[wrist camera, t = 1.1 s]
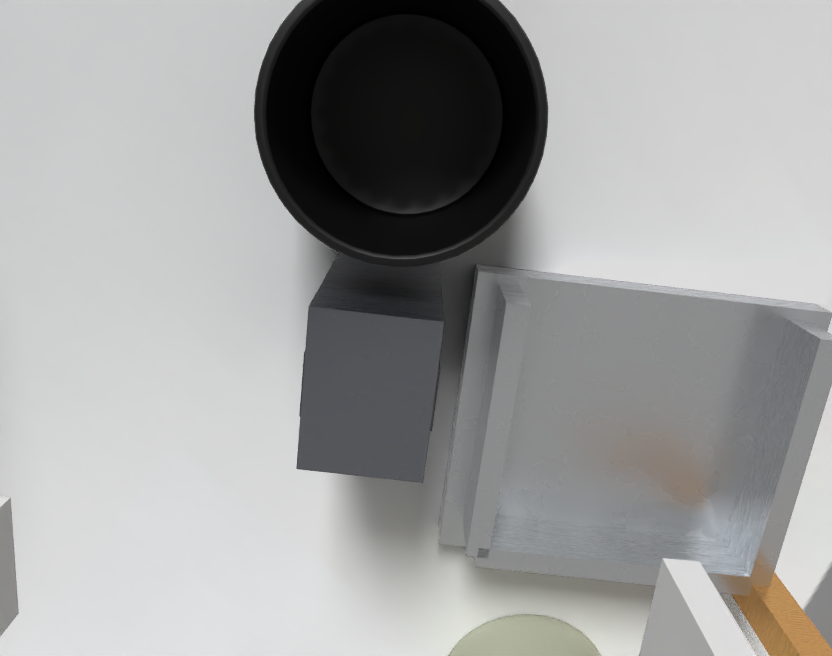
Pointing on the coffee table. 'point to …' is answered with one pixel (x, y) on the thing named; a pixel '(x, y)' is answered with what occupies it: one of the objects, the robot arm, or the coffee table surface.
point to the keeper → (637, 435)
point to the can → (525, 638)
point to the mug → (401, 124)
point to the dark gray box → (371, 370)
